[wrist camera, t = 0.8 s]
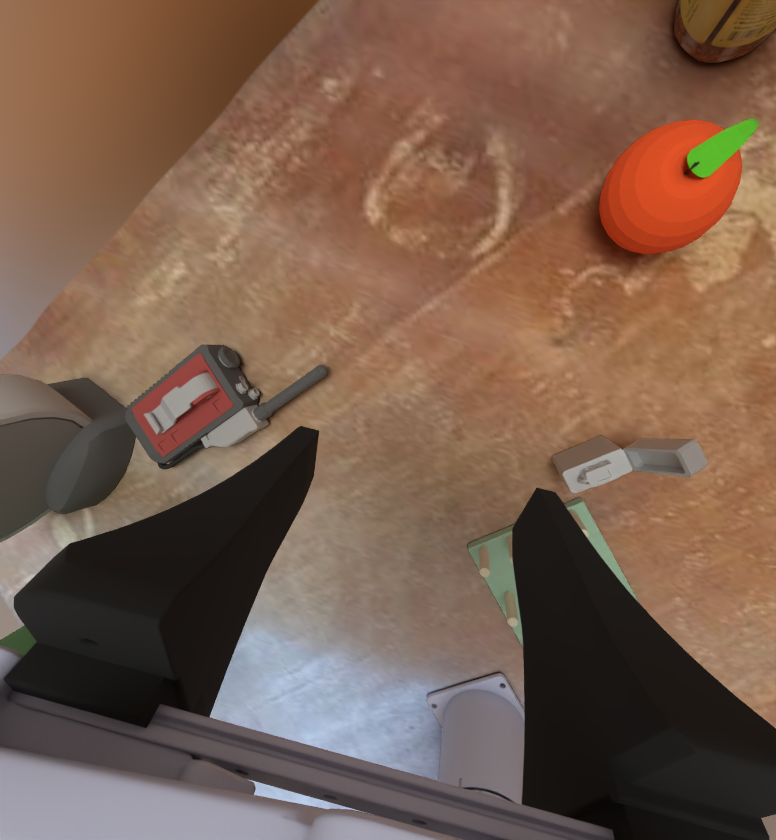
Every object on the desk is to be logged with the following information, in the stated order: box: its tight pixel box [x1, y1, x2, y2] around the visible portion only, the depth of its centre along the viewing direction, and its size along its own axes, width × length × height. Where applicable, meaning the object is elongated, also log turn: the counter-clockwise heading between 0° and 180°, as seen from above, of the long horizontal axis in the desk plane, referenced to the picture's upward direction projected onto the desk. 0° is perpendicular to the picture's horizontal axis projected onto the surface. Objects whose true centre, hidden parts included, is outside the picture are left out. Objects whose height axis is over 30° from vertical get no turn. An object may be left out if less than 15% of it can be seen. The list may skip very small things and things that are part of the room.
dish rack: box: [468, 497, 638, 646], centre depth 30 cm, size 10×10×4 cm
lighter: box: [551, 435, 708, 493], centre depth 26 cm, size 7×2×8 cm, turn 118°
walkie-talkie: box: [125, 345, 328, 469], centre depth 34 cm, size 9×4×20 cm
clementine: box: [599, 119, 759, 254], centre depth 23 cm, size 8×7×7 cm
